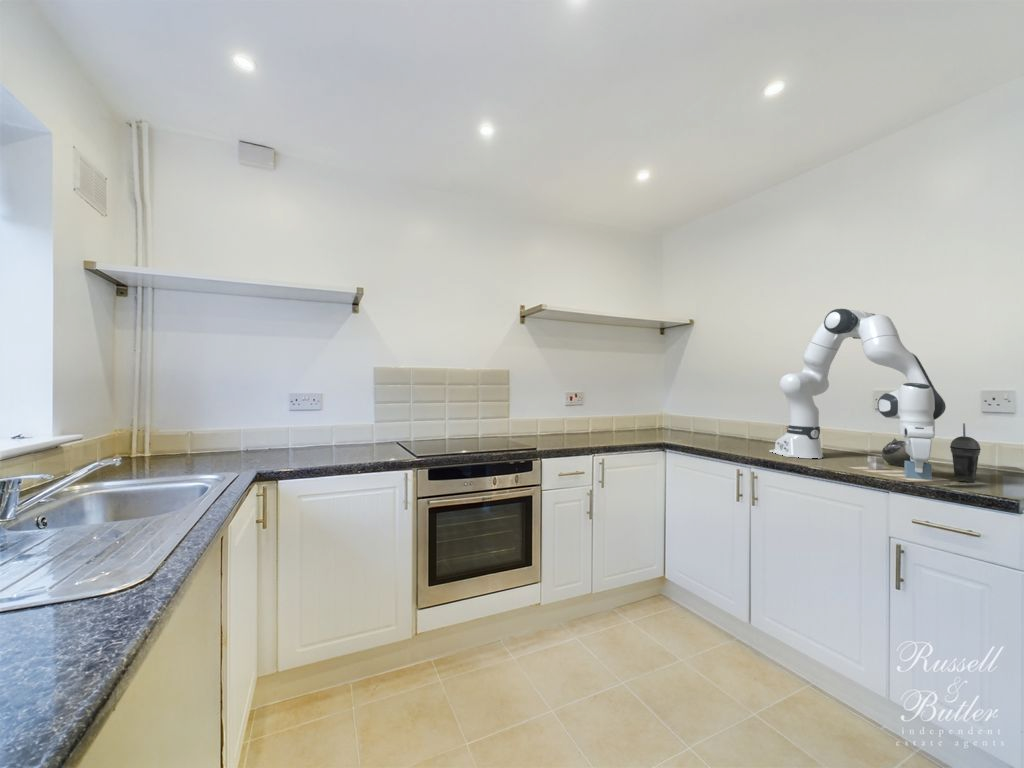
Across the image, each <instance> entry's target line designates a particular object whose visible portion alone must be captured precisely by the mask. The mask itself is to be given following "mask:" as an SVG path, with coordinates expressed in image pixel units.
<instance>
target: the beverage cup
mask: <svg viewBox="0 0 1024 768" xmlns="http://www.w3.org/2000/svg"><path fill="white" fill-rule="evenodd" d="M962 431H963V432H962V435H963V436H957V437H956V438H953V440H952V441H951V442H950V446H949V448H950V452H951V457H952V467H953V473H954V477H955V478H959V479H965V480H958V481H959V483H964V482H965V483H966V484H975V483H976V480H975V479H976V477H977V471H978V469H977V468H978V462H979V456H980V454H981V450H982V449H981V446H980V443H979V442H978V441H977V440H976V439H974V438H972V437H971V436H966V423H962ZM966 479H968V480H966Z"/></svg>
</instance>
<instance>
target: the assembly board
mask: <svg viewBox="0 0 1024 768" xmlns="http://www.w3.org/2000/svg"><path fill="white" fill-rule="evenodd" d="M884 461H885V460H884V458H883V457H882V456H876V455H874V456H871V455H870V456H869V455H868V456H867V465H866V466H862V465H861V466H848V468H850V469H855V470H859V471H864V472H868V473H869V472H870V473H873V474H879V475H883V476H888V477H893V478H898V479H901V480H902V479H903V480H907V481H908V482H907V481H904V482H900V483H902V484H906V485H910V486H916V487H917V486H941V485H942V486H944V484H949V485H951V480H949V479H946V478H942V477H936V476H932V480H925V479H915V478H907V477H906V476H905V475H904V470H900V469H895V468H890V467H887V466H886V467H885V466H884V463H885V462H884Z"/></svg>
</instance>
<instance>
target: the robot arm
mask: <svg viewBox="0 0 1024 768" xmlns="http://www.w3.org/2000/svg"><path fill="white" fill-rule="evenodd" d="M848 338H852V339H859V340H861V346H862V350H863V353H864V356H865V357H866V358H867V359H868V361H870V362H872V363H874V364H877V365H879V366H884V367H887V368H890V369H893V370H896V371H898V372H900V373H902V374H903V375H904V377H906V379H907V382H905V383H902V384H900V387H899V388H897V389H896V390H892V391H891V392H885V393H883V394H882V395H880V397H879V398H878V400H877V410H878V411H879V414H881V415H882V416H883V417H884V418H887V419H893V420H894V419H895V420H896V419H899V421H898V423H899V424H898V425H899V427H898V434H899V435H902V436H903V439H904V440H905V442H906V453H907V454H908V455H910V460H911V461H915V472H918V473H922V472H923V464H924V462H928V461H930V457H931V452H932V451H931V450H932V439H934V438H935V436H936V430H935V429H936V427H935V426H936V425H935V424H936V422H935V420H937V419H939V418H940V417H941V416H942V415H943V414H944V413H945V411H946V408H947V407H946V402H945V400H944V399H943V396H941V394H939V392H938V391H937V390H936V388H935V386H934V385H933V383H932V381H931V379H930V377H929V375H928V374H927V373H928V372H926V370H925V368H924V366H923V364H922V363H921V361H920V360H919V358H918V356H917V355H915V354H914V353H913V352H911V351H910V350H908V349H907V348H906V346H904V344H903V342H902V341H901V337H900V336H899V333H898V330H897V328H896V325H895V324H894V322H893V321H892V319H891V318H890V317H889V316H887V315H885V314H875V313H871V312H867V311H864V310H863V311H862V310H854V309H847V308H835V309H832V310H830V311H829V312H828V313H827V314H826V316H825V317H824V321H823V322H822V323H820V325H819V326H818V328H817V329H816V330H815V332H814V333H813V335H812V337H811V339H810V340H809V343H808V345H807V347H806V348H805V351H804V353H803V354H802V360H803V368H802V371H800V372H798V371H795V372H790V373H787V374H784V375H783V376H782V377H781V378H780V381H779V389H780V390H781V392H783V393H784V395H785V397H786V400H787V404H788V408H789V409H788V410H789V425H787V426H784V427H785V430H786V432H785V434H783V435H782V436H781V437H779V438H777V439H776V441H775V444H774V445H775V446H774V449H769V453H772V452H773V454H775V453H776V454H775V455H779V456H782V455H783V456H782V457H787V458H798V457H799V458H800V459H812V458H818V459H823V458H824V454H823V453H822V452H823V450H822V445H821V439H820V435H821V426H820V425H819V424H820V419H819V417H820V416H819V415H820V411H819V408H818V406H817V405H816V404H815V401H814V398H813V397H814V396H815V397H816V396H818V395H821V394H824V393H825V392H827V391H828V389H829V386H830V382H829V379H828V377H829V372H830V369H831V365H832V363H833V361H834V359H835V357H836V355H837V353H838V351H839V349H840V347H841V345H842V343H843V342H844V341H845V340H846V339H848ZM822 457H823V458H822ZM799 458H798V459H799Z"/></svg>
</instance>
